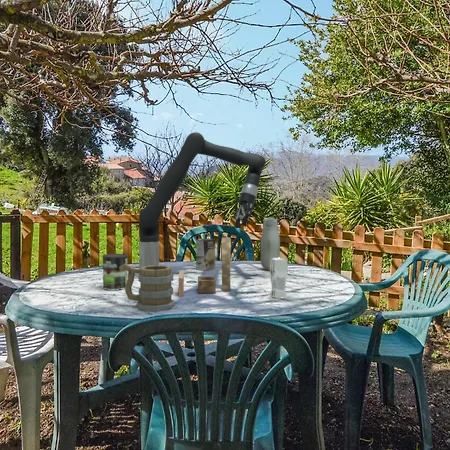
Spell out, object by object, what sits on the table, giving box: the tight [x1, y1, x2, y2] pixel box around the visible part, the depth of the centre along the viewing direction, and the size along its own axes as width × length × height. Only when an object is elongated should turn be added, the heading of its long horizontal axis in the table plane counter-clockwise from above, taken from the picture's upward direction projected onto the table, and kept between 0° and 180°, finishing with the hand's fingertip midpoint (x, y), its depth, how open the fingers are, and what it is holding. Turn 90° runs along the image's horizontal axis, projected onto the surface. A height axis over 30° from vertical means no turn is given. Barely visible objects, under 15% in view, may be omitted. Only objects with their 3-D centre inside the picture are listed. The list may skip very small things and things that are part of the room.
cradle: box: [197, 275, 217, 294], centre depth 174 cm, size 7×9×5 cm
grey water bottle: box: [260, 217, 281, 271], centre depth 223 cm, size 10×10×28 cm
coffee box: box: [195, 238, 216, 272], centre depth 226 cm, size 9×6×16 cm
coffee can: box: [102, 253, 128, 291], centre depth 179 cm, size 10×10×14 cm
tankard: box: [119, 263, 176, 312], centre depth 150 cm, size 20×13×15 cm, turn 77°
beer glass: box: [269, 257, 289, 299], centre depth 165 cm, size 7×7×15 cm
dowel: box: [221, 237, 232, 293], centre depth 175 cm, size 4×4×22 cm
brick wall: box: [178, 270, 185, 297], centre depth 174 cm, size 2×16×7 cm, turn 5°
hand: (239, 226), depth 196 cm, fingers open, 8 cm apart
